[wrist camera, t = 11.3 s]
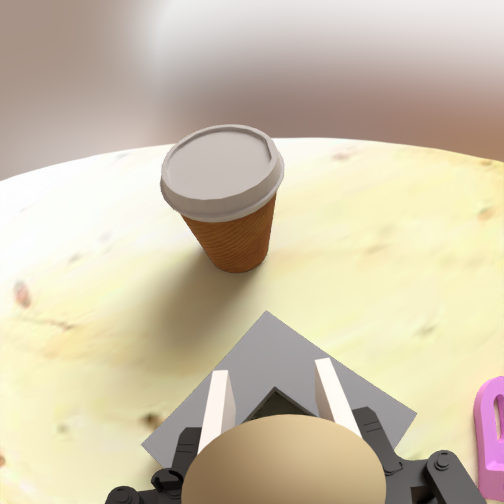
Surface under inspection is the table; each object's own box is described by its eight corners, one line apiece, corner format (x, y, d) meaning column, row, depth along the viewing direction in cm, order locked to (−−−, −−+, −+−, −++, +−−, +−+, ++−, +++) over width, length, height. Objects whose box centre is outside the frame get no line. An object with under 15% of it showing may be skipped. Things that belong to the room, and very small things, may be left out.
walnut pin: (275, 400, 17) (271, 374, 6) (330, 438, 15) (422, 471, 4) (229, 449, 15) (144, 501, 4) (284, 489, 14) (293, 596, 3)
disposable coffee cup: (264, 301, 27) (254, 221, 17) (177, 270, 29) (131, 190, 19) (296, 223, 31) (300, 131, 21) (217, 202, 34) (195, 116, 24)
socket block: (268, 329, 25) (266, 310, 21) (392, 415, 20) (417, 413, 16) (165, 440, 20) (140, 444, 16) (289, 534, 15) (291, 557, 11)
